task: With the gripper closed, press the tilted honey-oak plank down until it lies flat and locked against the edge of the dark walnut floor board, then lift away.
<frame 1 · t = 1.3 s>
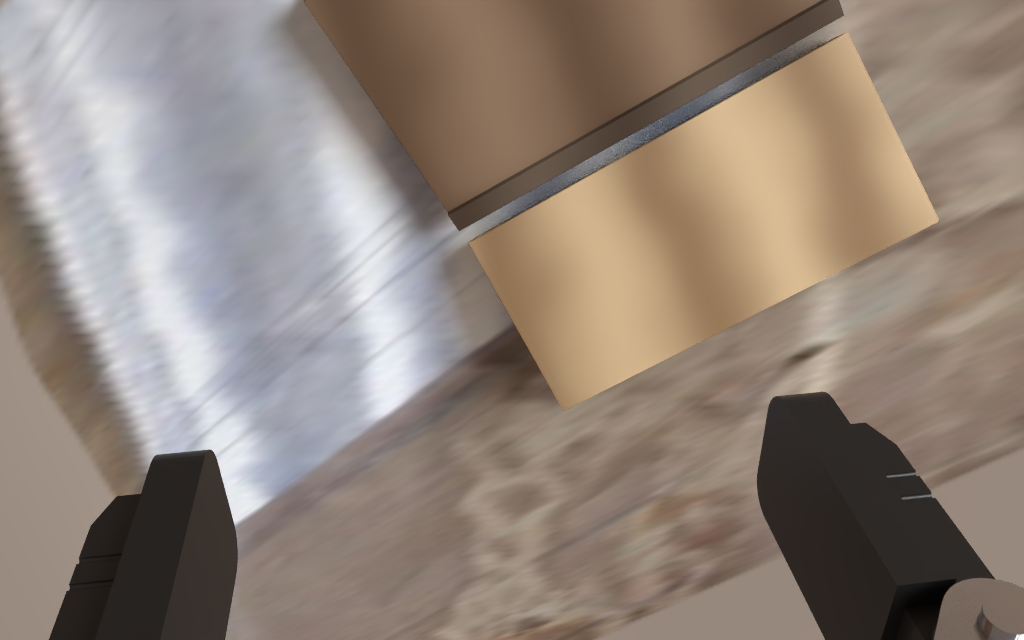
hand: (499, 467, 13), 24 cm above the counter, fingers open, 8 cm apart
oak plank: (694, 229, 36), point 3 cm above the counter, hinge at 25.0°
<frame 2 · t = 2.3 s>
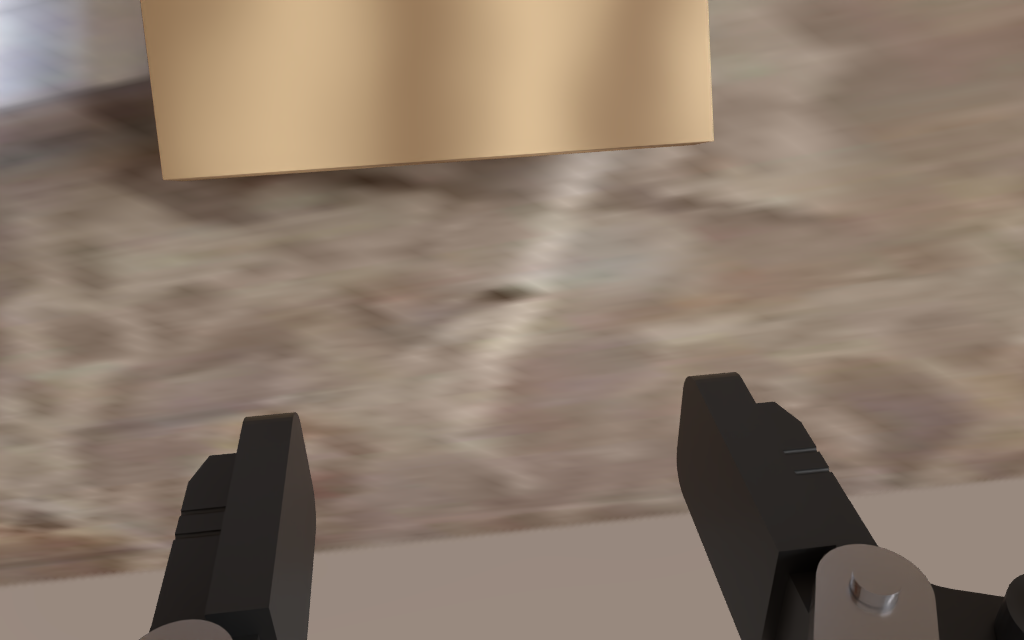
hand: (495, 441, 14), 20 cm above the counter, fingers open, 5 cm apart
oak plank: (433, 27, 27), point 3 cm above the counter, hinge at 25.0°
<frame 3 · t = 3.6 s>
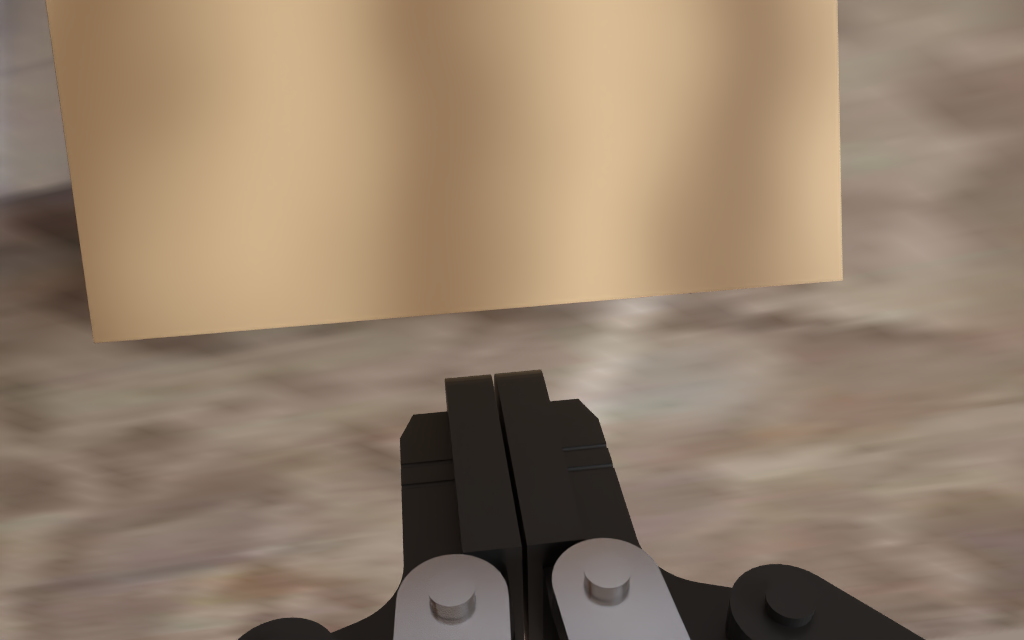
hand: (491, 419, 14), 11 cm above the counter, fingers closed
oak plank: (464, 127, 20), point 3 cm above the counter, hinge at 25.0°
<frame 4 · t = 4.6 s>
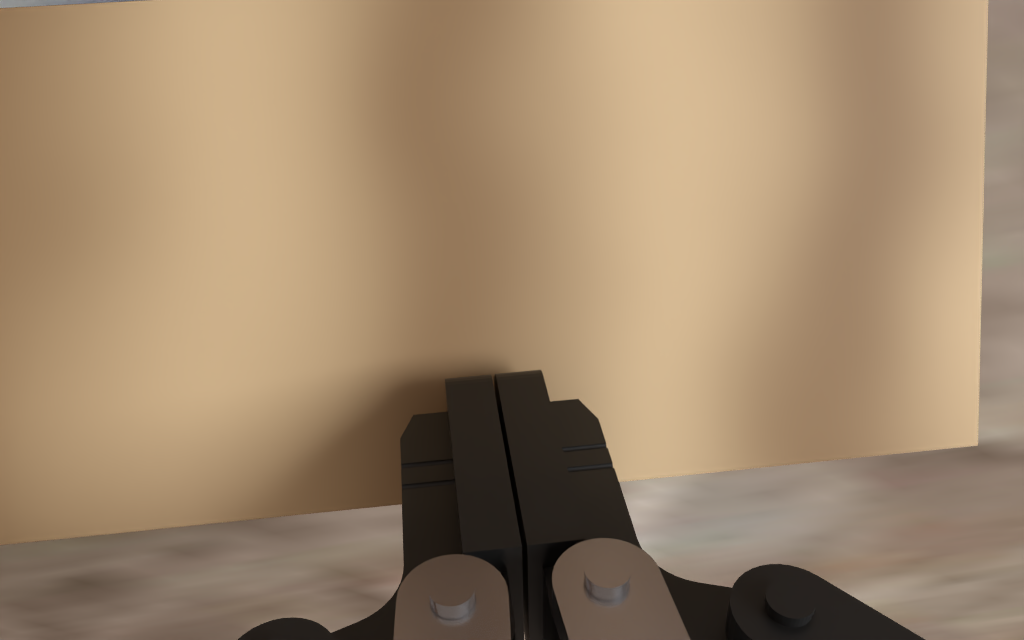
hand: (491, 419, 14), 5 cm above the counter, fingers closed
oak plank: (481, 245, 15), point 3 cm above the counter, hinge at 23.2°, touching gripper
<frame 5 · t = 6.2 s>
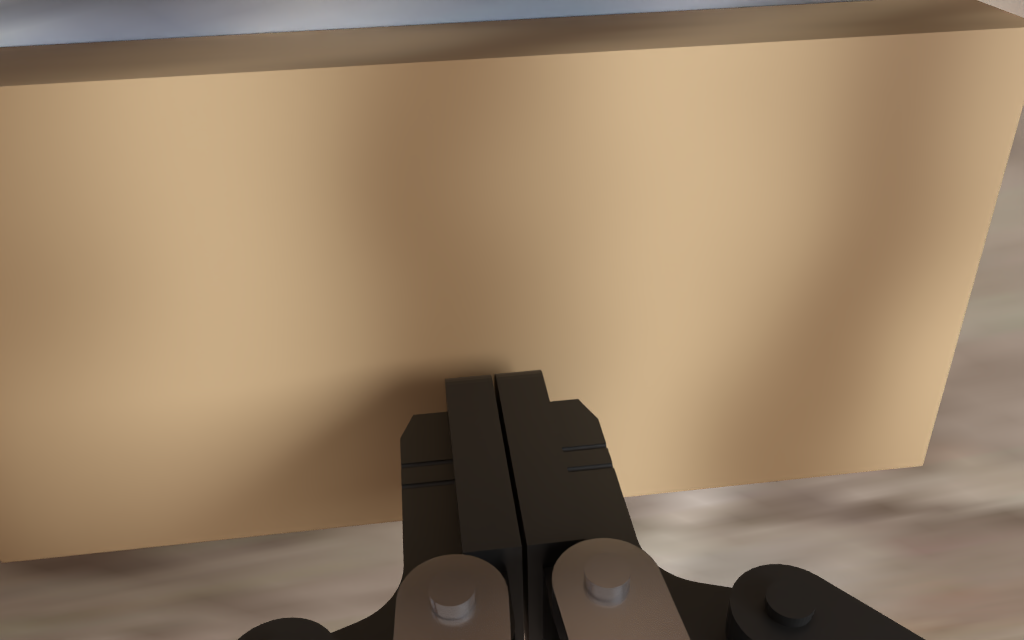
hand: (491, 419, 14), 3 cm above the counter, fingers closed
oak plank: (468, 287, 14), point 1 cm above the counter, hinge at 1.5°
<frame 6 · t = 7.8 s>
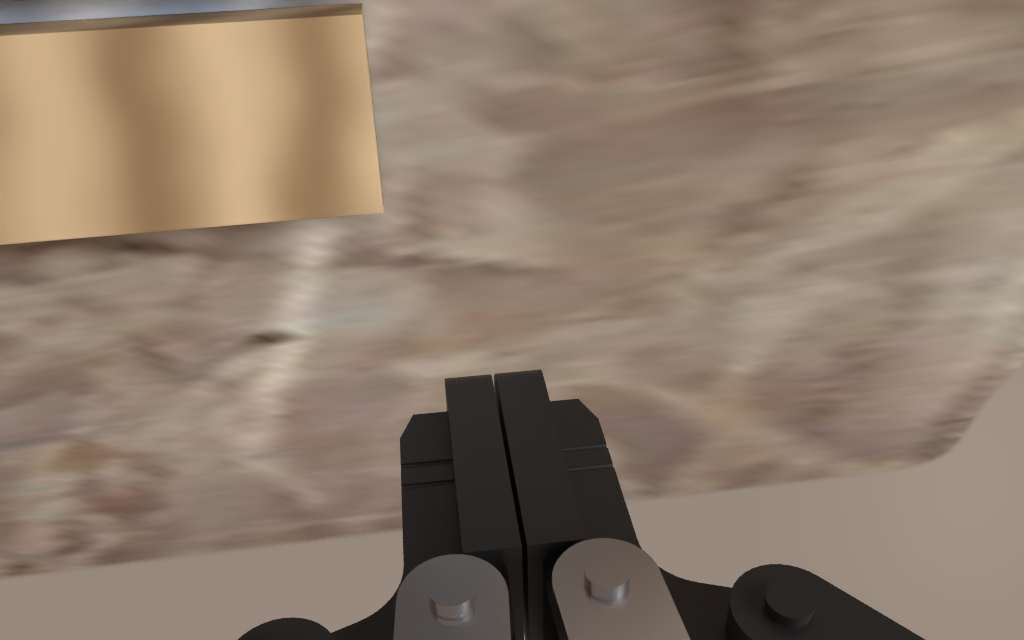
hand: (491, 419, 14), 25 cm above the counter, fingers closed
oak plank: (163, 126, 35), point 1 cm above the counter, hinge at 1.4°
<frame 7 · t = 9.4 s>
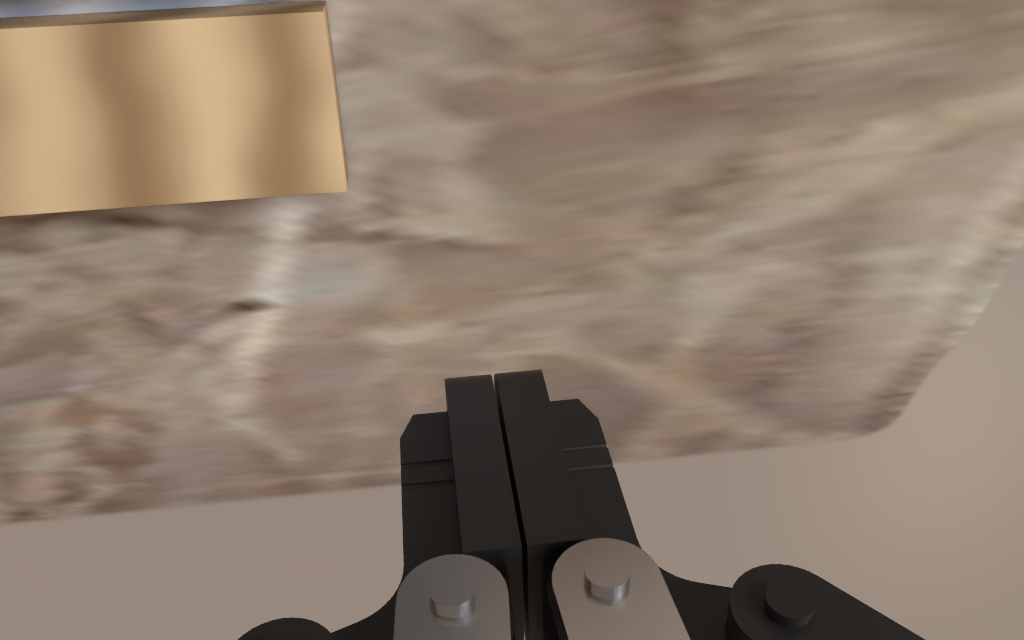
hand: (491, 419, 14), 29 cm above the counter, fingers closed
oak plank: (147, 111, 38), point 1 cm above the counter, hinge at 1.4°
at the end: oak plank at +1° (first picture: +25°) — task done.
